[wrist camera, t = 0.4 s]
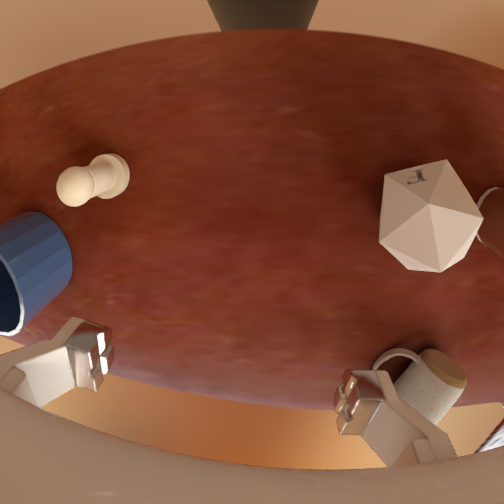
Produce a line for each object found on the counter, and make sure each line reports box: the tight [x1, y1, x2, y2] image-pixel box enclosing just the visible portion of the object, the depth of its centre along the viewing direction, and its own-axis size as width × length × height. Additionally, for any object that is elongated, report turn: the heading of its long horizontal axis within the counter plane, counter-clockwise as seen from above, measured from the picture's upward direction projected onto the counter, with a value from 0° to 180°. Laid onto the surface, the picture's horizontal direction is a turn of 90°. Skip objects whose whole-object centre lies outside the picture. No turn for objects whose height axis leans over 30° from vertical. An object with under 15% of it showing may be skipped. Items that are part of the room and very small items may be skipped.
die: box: [379, 159, 484, 272], centre depth 23 cm, size 8×9×10 cm
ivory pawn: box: [56, 153, 130, 206], centre depth 23 cm, size 4×4×8 cm
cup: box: [0, 211, 73, 336], centre depth 26 cm, size 10×10×9 cm
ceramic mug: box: [372, 348, 467, 426], centre depth 29 cm, size 11×8×8 cm
